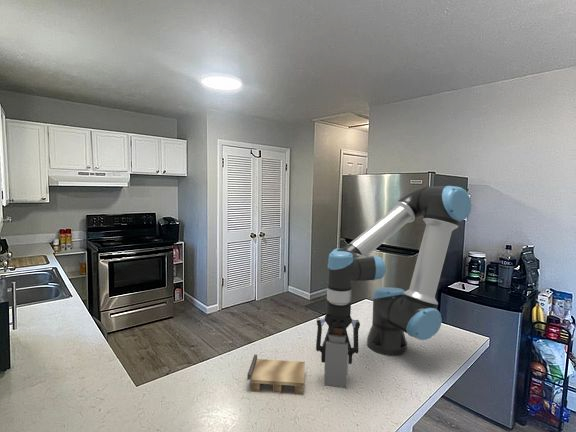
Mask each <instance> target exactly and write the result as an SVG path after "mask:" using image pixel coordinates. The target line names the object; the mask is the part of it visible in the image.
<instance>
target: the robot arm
mask: <svg viewBox="0 0 576 432" xmlns="http://www.w3.org/2000/svg"><path fill="white" fill-rule="evenodd" d="M471 211H472V200H471V197H470V194H469V193H468V191H466V189H465V188H463V187H460V186H454V185H440V186H438V185H437V186H435V185H434V186H430V185H429V186H427V185H426V186H421V187H419V188H415V189H414V190H411V191H410V192H409V193H407V194H406V195H405V196H403V197H401V198H400V199H399V200H398V201H397V200H396V202H395V203H394V206H393V208H392V209H390V210H389V211H388V212H386V213H385V215H383V216H382V217H380V218H379V219H378V220H377V221H375V222H374V223H373V224H371V226H369V227H368V228H367V229H365V230H364V231H363V232H362V233H361V234H359V235H358V236H357V237H356V238H354V239H353V240H352V241H351V242H349V243H347V245H345V247H337V248H334V249H333V250H332V251H331V252H330V253H329V255H328V259H327V283H326V285H327V288H326V289H327V290H326V300H327V301H326V307H325V308H326V313H325V316H324V317H321V318H320V317H317V318H316V325H317V330H316V331H317V332H316V344H315V350H316V352H320V353H321V355H320V357H321V358H320V359H321V363H324V364H325V351H326V341H329V336H328V335H329V334H331V335H332V334H333V331H334V329H335V327H337V328H342V329H343V334H344V335H346V340H345V341H346V342H348V359H347V376H349V365H352V363H353V355H354V354H358V353H359V351H360V350H359V329H360V327H361V322H360V320H358V319H353V318H352V316H351V314H352V312H351V310H352V303H351V301H352V289H353V282H354V283H355V282H363V281H375V280H381V279H382V278H384V276H385V275H386V271H387V269H386V268H387V266H386V263H385V261H384V259H383V258H382V257H380V256H374V255H371V256H369V255H370V254H371V253H373V252H374V251H375V250H377V248H378V247H380V246H381V245H382V244H383V243H384V242H386V241H387V240H389V239H390V238H391V237H392V236H394V234H396V233H397V232H398V231H399V230H400V229H402V228H403V227H404V226H405V225H406V224H408V223H413V222H414V221H416V220H417V219H420V218H422V220H423V222H424V223H425V228H424V231H423V235H422V240H421V243H420V247H419V252H418V254H417V258H416V263H415V266H414V269H413V273H412V277H411V281H410V284H409V289H407V290H405V289H403V288H400V287H390V286H389V287H387V286H385V287H379V288H375V290H374V292H373V297H372V322H371V324H372V325H371V327H370V330H369V332H368V334H367V337H366V345H367V347H368V348H369V349H370V350H372V351H374V352H376V353H379V354H381V355H385V356H400V355H403V354H405V353H406V352H407V350H408V343H407V338H406V335H405V334H408V336H410V337H413V338H415V339H417V340H420V341H426V340H429V339H431V338H432V337H433V336H435V335H436V334H437V333H438V332H439V330H440V328H441V326H442V320H443V319H442V314H441V312H440V311H439V310H438V306H439V302H438V301H437V299H436V293H437V291H438V287H439V282H440V279H441V274H442V271H443V266H444V264H445V260H446V255H447V251H448V247H449V244H450V242H451V241H450V240H451V236H452V233H453V231H454V230H456V229H458V228H459V225H460V222H462V221H464V220H466V219H467V218H468V217H469V216H470V215H471ZM324 324H327V326H328V327H327V328H328V329H327V332H326V334H325V337H324V339H323V342H322V332H323V328H322V327H323V326H324ZM350 325H352V328H353V331H352V332H353V336H352V337H353V347H352V346H351V342H350V339H349V333H348V331H347V328H349V326H350ZM321 342H322V345H321ZM323 368H324V371H323V372H325V365H324V367H323Z"/></svg>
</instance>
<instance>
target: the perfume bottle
mask: <svg viewBox="0 0 576 432" xmlns="http://www.w3.org/2000/svg"><path fill="white" fill-rule="evenodd" d="M328 336H329V341H326V351H325V363H324V366H325V371H324V377H323V378H324V381H323V382H324V384H323V386H325V387H332V388H339V389H347V380H348V379H347V377H348V375H347V359H348V342H346V341H345V340H346V335H344V334H343V329H342V328H337V327H335V329H334V331H333V334H332V335H331V334H329V335H328Z"/></svg>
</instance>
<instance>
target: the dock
mask: <svg viewBox="0 0 576 432" xmlns="http://www.w3.org/2000/svg"><path fill="white" fill-rule="evenodd" d="M305 370H306V362H305V361H297V360H296V361H295V360H282V359H281V360H280V359H278V360H277V359H264V358H258V354H254V355H253V357H252V360H251V363H250V366H249V369H248V371H247V380H249V381H250V383H251V388H250V389H251V391H250V392H260V390H261V387H262V384H263V385H272V392H273V393H278V394H282V389H283V386H293V387H294V394H295V395H304V387H305Z"/></svg>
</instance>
